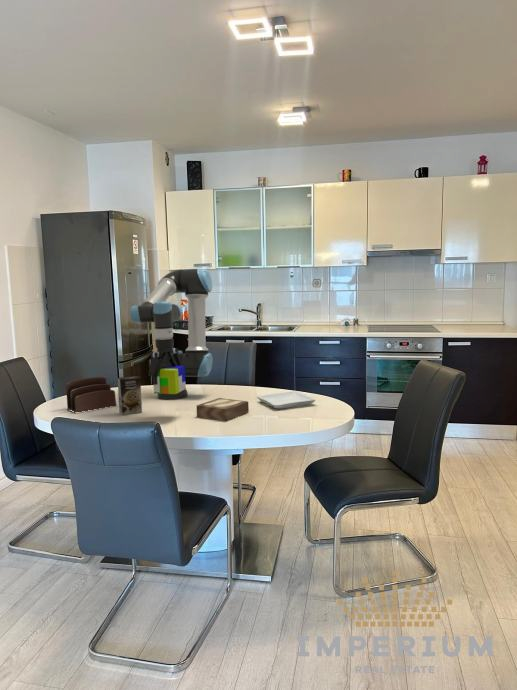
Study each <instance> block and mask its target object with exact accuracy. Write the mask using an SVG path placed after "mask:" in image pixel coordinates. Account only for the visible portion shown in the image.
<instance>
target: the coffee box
mask: <svg viewBox="0 0 517 690" xmlns="http://www.w3.org/2000/svg"><path fill="white" fill-rule="evenodd" d="M141 383H142V382H141V377H140V376H137V375H133V376H123V377H117V389H118V390H117V392H118V393H117V395H118V412H119V414H120V415H122V416H128V415H134V414H135V413H136V414H141V413H143V404H142V385H141ZM136 414H135V415H136Z"/></svg>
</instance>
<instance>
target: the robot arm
mask: <svg viewBox="0 0 517 690" xmlns="http://www.w3.org/2000/svg"><path fill="white" fill-rule="evenodd" d="M212 289H213V281H212V277H211V275H210V272H209V271H208V269H206V268H190V269H189V268H188V269H186V268H184V269H176V270H173V271H170V272H169V273H167V274H165V275H164V276H163V277H162V278H160V280H158V282H157V286H156V287H155V288H154V289H153V290H152V292H151V293H150V294H149V295H148V296H147V297H146V298H145V300H144V301H142V303H141V304H140V305H138V304H136V305H132V306H131V307H130V308H129V309H130V310H129V317H130V320H131V321H132V322H133V323H140V324H142V323H144V324H145V323H154V337H155V339H154V340H155V341H154V342H155V348H156V351H153V352H151V353H150V354H151V359H150V364H149V369H148V376H149V377H151V378H152V385H153V393H154V392H160V381H159V377H158V374H159V371H160V369H161V366H185V377H190V378H191V377H198V378H200V377H207V376H209V374H210V373H211V371H212V369H213V368H212V366H213V361H214V360H213V359H214V358H213V354H212V353H210V352H209V351H210V350H209V348H208V347H207V346H206V343H207V342H206V299H207V298H208V297H209V293H210V292H212ZM178 293H180V294H181V293H182V294H183V293H184V296H185V297H186V299H187V300H188V301H187V302H188V303H187V314H188V315H187V319H188V320H187V321H188V322H187V324H188V325H187V328H188V329H187V331H188V334H187V335H188V341H187V342H188V347H186V349H185V353H183V350H179V348H177V347H176V348H175V347H174V345H175V344H174V338H173V337H174V331H173V330H174V329H173V328H174V326H173V322H174V323H175V322H177V321H179V320H181V318H182V317H183V309H182V307H181V306H180V305H179V304H173V303H172V302H171V301H169V300H168V299H169V298H170V297H172V296H174V295H175V294H178ZM155 373H156V374H155ZM188 394H189V393H188V390H187V388H186V389H184V390H183V391H181V392H179V393H177V394H157V398H158V399H160V400H179V399H185V398H186V397H189V396H188Z"/></svg>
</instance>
